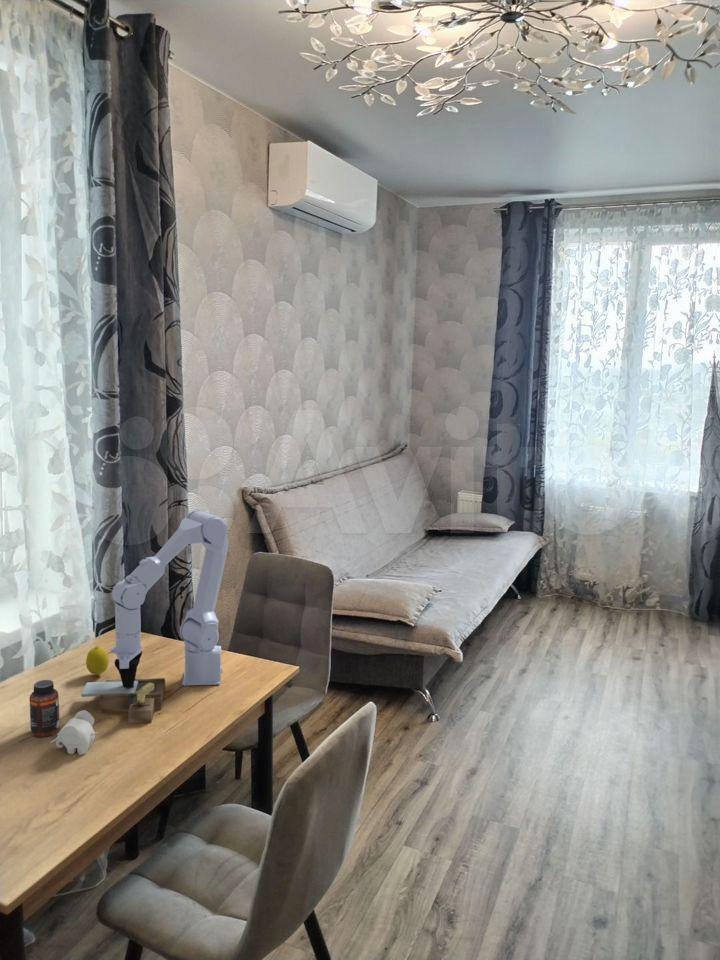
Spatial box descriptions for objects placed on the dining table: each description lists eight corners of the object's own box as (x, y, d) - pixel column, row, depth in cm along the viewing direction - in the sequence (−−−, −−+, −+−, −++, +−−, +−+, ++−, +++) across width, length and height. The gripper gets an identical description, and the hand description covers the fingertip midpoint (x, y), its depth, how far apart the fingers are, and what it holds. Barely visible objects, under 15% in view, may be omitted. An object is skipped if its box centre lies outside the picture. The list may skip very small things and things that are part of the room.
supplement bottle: (66, 728, 164) (64, 681, 162) (44, 740, 159) (42, 691, 157) (46, 722, 166) (44, 675, 164) (24, 733, 161) (22, 685, 159)
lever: (149, 696, 174) (148, 682, 173) (154, 698, 173) (154, 683, 172) (127, 711, 166) (127, 696, 165) (133, 713, 165) (132, 698, 165)
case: (165, 690, 184) (165, 677, 183) (158, 722, 168) (158, 707, 168) (107, 692, 182) (106, 678, 181) (94, 724, 166) (94, 709, 165)
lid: (138, 683, 181) (137, 668, 180) (134, 695, 174) (134, 680, 174) (87, 684, 179) (86, 670, 178) (81, 696, 172) (81, 681, 172)
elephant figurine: (60, 738, 160) (59, 707, 159) (104, 740, 160) (103, 710, 158) (44, 757, 152) (43, 725, 151) (90, 759, 152) (89, 728, 151)
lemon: (104, 680, 188) (103, 651, 187) (83, 679, 188) (82, 650, 187) (112, 671, 193) (111, 642, 192) (91, 670, 193) (90, 641, 192)
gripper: (115, 620, 181) (116, 672, 183) (105, 643, 167) (106, 698, 169) (145, 619, 182) (145, 671, 184) (137, 642, 168) (138, 697, 170)
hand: (129, 684), depth 177 cm, fingers closed on lid, 2 cm apart
